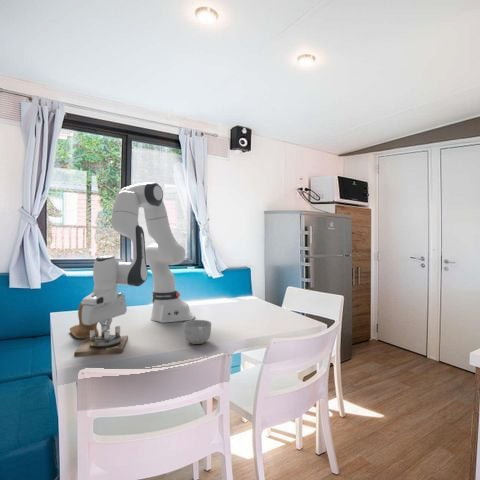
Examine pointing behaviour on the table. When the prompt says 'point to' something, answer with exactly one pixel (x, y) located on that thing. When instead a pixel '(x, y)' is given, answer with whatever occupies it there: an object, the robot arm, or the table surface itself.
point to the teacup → (197, 331)
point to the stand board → (88, 350)
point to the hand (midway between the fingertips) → (106, 330)
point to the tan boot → (83, 326)
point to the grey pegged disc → (105, 338)
